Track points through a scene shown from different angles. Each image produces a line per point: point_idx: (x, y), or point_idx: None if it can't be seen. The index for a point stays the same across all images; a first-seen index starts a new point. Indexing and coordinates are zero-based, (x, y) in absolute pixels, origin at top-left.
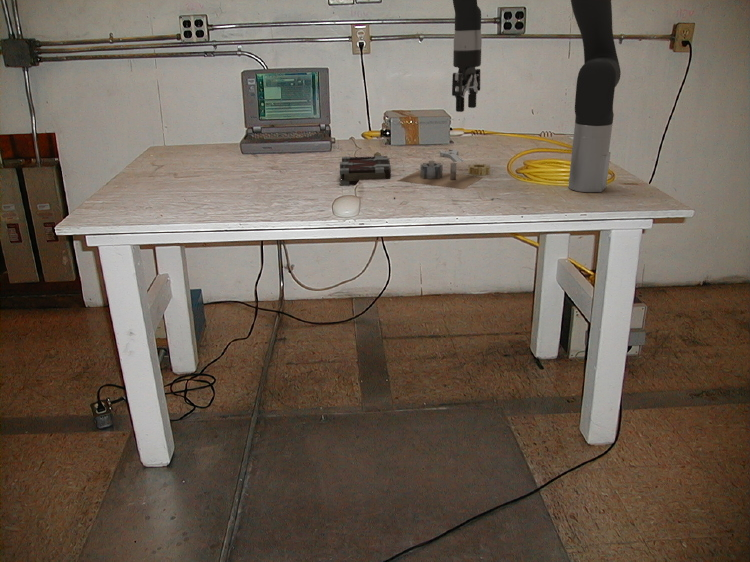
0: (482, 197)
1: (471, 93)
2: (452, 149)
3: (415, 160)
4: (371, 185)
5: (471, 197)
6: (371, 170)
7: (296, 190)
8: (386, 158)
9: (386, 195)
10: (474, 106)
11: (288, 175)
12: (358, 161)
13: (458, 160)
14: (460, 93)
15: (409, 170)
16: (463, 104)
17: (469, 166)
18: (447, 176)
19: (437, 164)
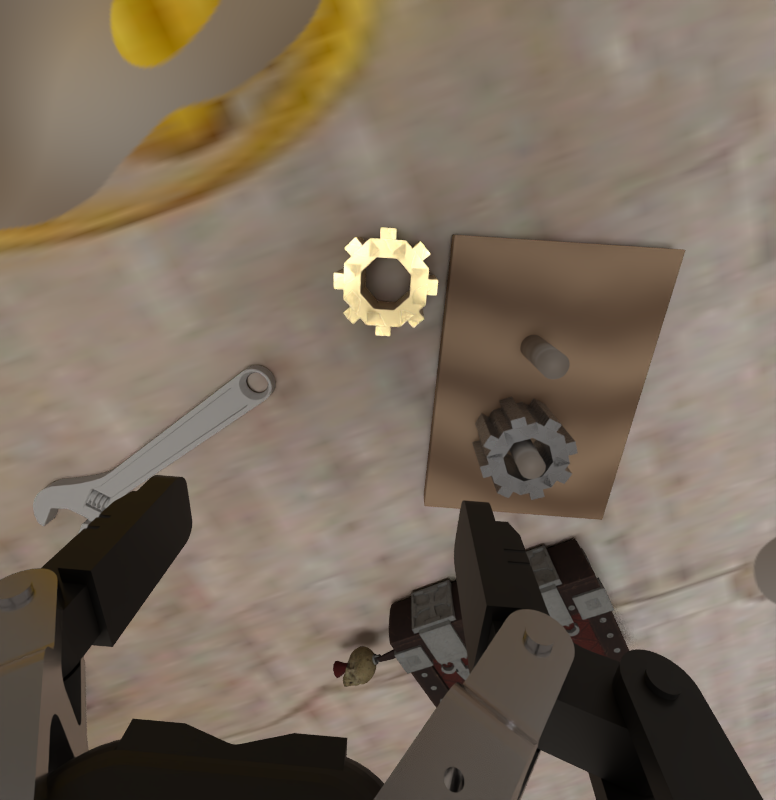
0: (704, 151)
1: (87, 626)
2: (39, 513)
3: (230, 573)
4: (602, 574)
5: (710, 200)
6: (613, 616)
7: None
8: (437, 633)
9: (720, 495)
10: (178, 484)
11: (546, 769)
12: None
13: (182, 439)
14: (690, 693)
15: (373, 544)
16: (496, 545)
17: (390, 329)
18: (490, 383)
19: (516, 440)
